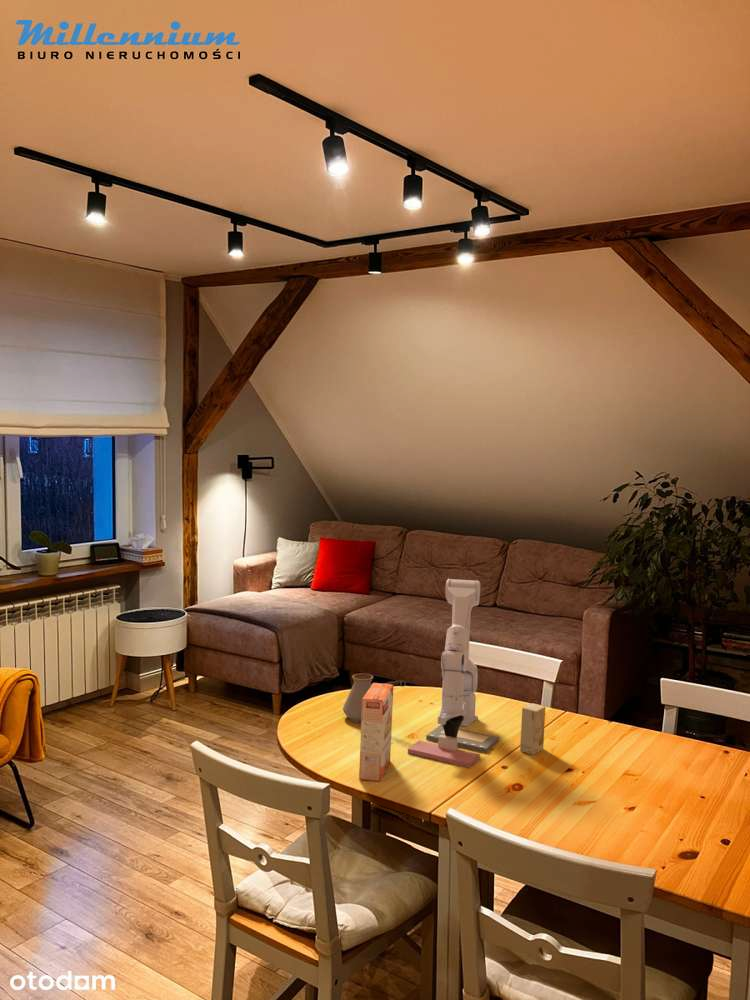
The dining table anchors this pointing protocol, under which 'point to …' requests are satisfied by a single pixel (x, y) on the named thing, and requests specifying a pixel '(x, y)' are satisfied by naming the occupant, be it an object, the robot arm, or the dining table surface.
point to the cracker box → (376, 731)
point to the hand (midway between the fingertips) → (450, 742)
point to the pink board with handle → (444, 751)
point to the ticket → (467, 739)
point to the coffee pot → (359, 695)
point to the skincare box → (532, 728)
